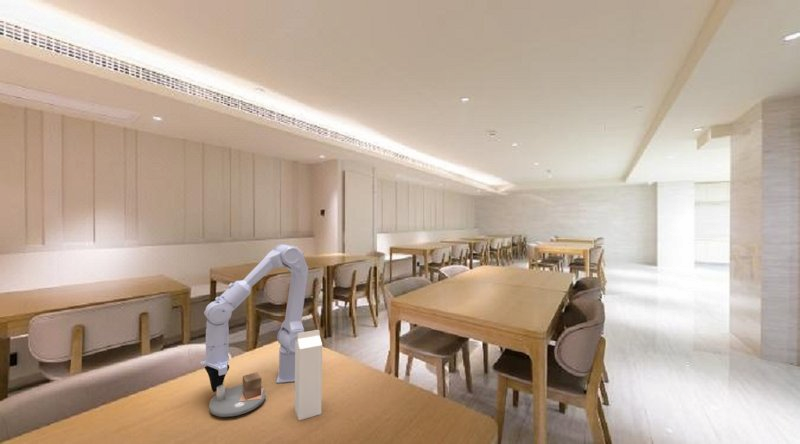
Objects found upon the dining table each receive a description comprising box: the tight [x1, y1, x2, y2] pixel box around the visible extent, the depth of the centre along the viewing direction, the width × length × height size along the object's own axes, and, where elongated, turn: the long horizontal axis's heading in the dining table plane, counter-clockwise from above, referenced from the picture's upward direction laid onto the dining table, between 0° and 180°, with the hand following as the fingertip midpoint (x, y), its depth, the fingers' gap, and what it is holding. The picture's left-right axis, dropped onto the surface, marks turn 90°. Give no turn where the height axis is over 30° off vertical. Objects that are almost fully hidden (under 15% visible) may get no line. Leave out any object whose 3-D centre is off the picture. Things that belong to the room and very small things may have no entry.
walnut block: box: [242, 371, 262, 400], centre depth 89 cm, size 4×4×5 cm
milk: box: [293, 329, 323, 421], centre depth 85 cm, size 6×6×22 cm
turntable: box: [208, 383, 266, 418], centre depth 88 cm, size 14×14×5 cm
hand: (216, 390), depth 90 cm, fingers closed
